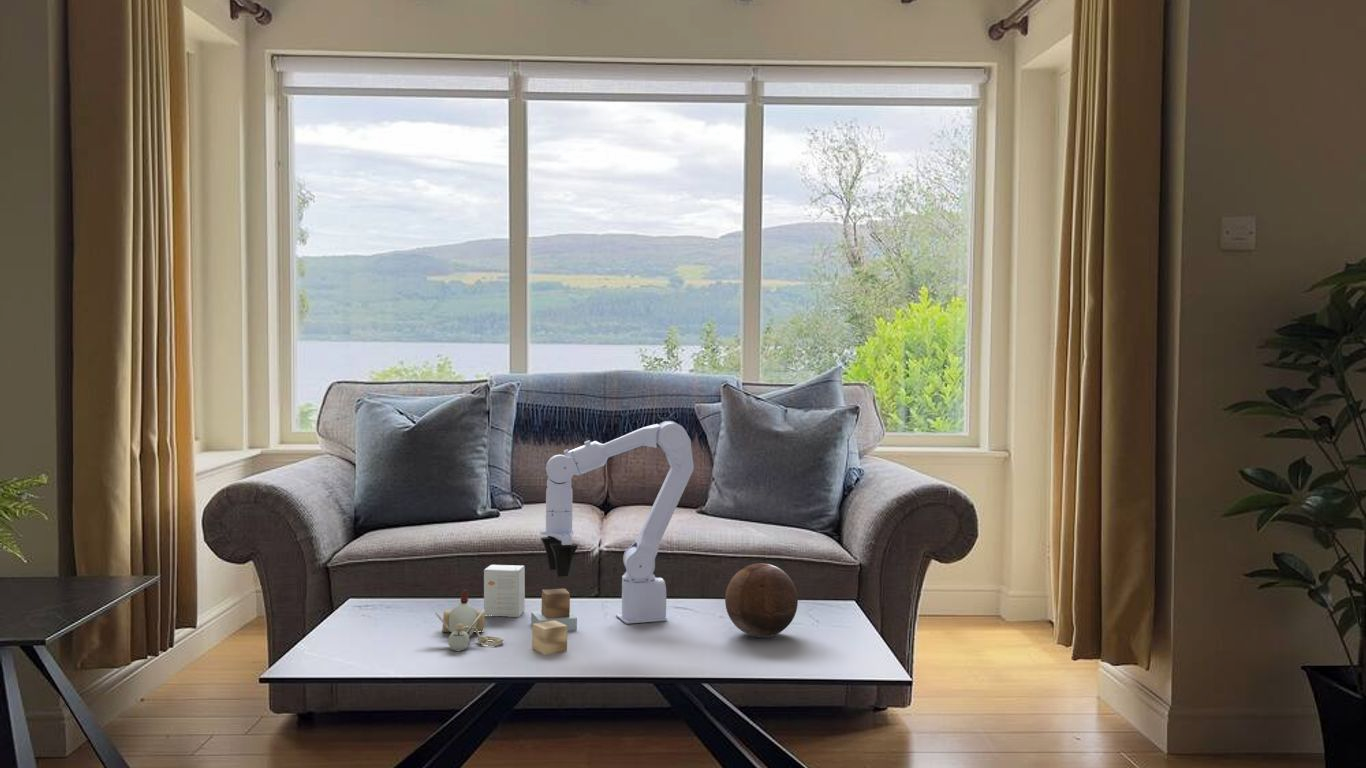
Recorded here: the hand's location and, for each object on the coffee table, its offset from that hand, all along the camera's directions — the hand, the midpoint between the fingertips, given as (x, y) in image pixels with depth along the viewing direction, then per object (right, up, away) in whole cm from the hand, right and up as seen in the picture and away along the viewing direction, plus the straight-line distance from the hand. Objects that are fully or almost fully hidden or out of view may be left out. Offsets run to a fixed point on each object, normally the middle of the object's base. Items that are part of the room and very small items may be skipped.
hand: (558, 572), depth 230 cm
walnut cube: (0, -8, -5) cm, 10 cm away
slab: (0, -11, -5) cm, 12 cm away
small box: (-13, -10, +5) cm, 17 cm away
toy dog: (-17, -11, -16) cm, 26 cm away
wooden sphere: (+43, -12, -10) cm, 46 cm away
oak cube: (+1, -11, -23) cm, 25 cm away
